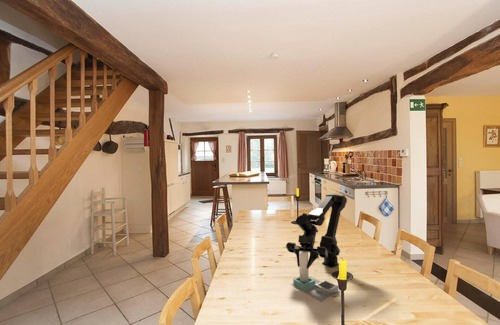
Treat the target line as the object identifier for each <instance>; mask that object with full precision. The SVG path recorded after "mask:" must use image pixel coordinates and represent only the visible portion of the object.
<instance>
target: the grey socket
mask: <svg viewBox="0 0 500 325" xmlns="http://www.w3.org/2000/svg"><path fill="white" fill-rule="evenodd" d="M323 287H328V288H330V289H328V290H327V289H325V288H323ZM315 290H316V291H318V292H320V293H322V294H323V295H325V296H327V297H329V296H331V295H333V294H335V293H337V292H338V290H339V285H338V284H335V283H333V282H331V281H329V280H327V279H324V280H322V281H321V282H320V283H317V284H315Z"/></svg>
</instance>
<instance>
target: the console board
mask: <svg viewBox="0 0 500 325" xmlns="http://www.w3.org/2000/svg"><path fill="white" fill-rule="evenodd" d="M309 278H311V279H313V280H315V284H317V283H320V282H322V281H321V280H318V279H316V278H314V277H312V276H309ZM302 283H304V282H302ZM306 283H307V282H306ZM304 284H305V283H304ZM290 285H291V286H292V287H294V288H296V289H297V290H299V291H301V292H303V293H305V294H306V295H308V296H310V297H312V298H314V299H315V300H317V301H319V302H321V303H323V302H324V301H326V300H328V299H330V298H332V297H334V296H336V295H338V294H340V293H341V292H342V291H341V290H340V289H338V292H337V293H335V294H333V295H331V296H329V297H327V296H325V295H323V294H322V293H320V292H318V291H316V290H315V286H313V287H311V288H309V289H307V290H303V289H301V288H299V287H297V286H295V285H294V284H293V283H290ZM323 288H325V289H327V290H328V289H330V288H328V287H323Z"/></svg>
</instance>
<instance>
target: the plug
mask: <svg viewBox="0 0 500 325" xmlns="http://www.w3.org/2000/svg"><path fill="white" fill-rule="evenodd" d="M308 261H309V252H307V251H300V252H299V267H298V268H299V277H300V281H301V282H304V283H306V282H308V281H309V277H310V276H309V269H307V265H308Z"/></svg>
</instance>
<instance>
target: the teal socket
mask: <svg viewBox="0 0 500 325" xmlns="http://www.w3.org/2000/svg"><path fill="white" fill-rule="evenodd" d="M292 280H293V281H292V284H294V285H295V286H297V287H299V288H301V289H303V290H307V289H309V288H311V287H313V286H315V280H313V279H311V278H309V281H308V282H307V283H305V284H304V283H302V282H301V281H300V276H297V277H294V278H293V279H292Z"/></svg>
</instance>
